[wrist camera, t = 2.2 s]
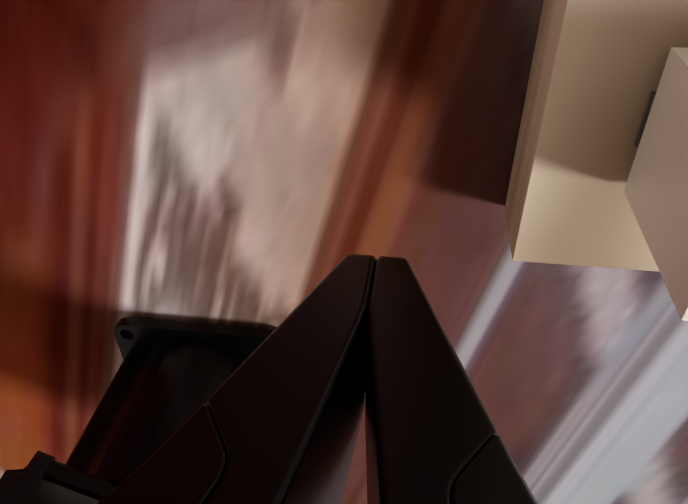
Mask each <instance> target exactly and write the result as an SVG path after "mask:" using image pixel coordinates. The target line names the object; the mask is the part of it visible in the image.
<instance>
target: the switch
mask: <svg viewBox="0 0 688 504" xmlns="http://www.w3.org/2000/svg"><path fill="white" fill-rule="evenodd" d="M624 193H625V195H626V198H627V200H628V202H629V204H630V207H631V209H632V211H633V213H634V215H635V218H636V220H637V222H638V224H639V227H640V229H641V231H642V233H643V235H644V238H645V240H646V242H647V244H648V247H649V249H650V251H651V253H652V256H653V258H654V260H655V262H656V264H657V267H658V269H659V271H660V273H661V276H662V278H663V280H664V282H665V284H666V287H667V289H668V291H669V293H670V296H671V298H672V300H673V302H674V305H675V307H676V309H677V311H678V313H679V316H680V318H681V320H685V321H688V48H683V47H671V49H670V52H669V55H668V58H667V61H666V64H665V67H664V70H663V73H662V76H661V79H660V83H659V86H658V89H657V92H656V95H655V98H654V101H653V104H652V107H651V110H650V113H649V116H648V119H647V122H646V125H645V128H644V131H643V134H642V137H641V140H640V143H639V146H638V149H637V153H636V156H635V159H634V162H633V165H632V168H631V171H630V174H629V177H628V180H627V183H626V186H625V189H624Z"/></svg>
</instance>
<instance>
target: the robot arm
mask: <svg viewBox="0 0 688 504" xmlns="http://www.w3.org/2000/svg"><path fill="white" fill-rule="evenodd" d="M114 334H115V337H116V340H117V343H118V346H119V349H120V351H121V354H122V357H123V360H124V361H123V363H122V364H121V366H120V368H119V370H118V371H117V373H116V375H115V377H114V378H113V380H112V382H111V384H110V386H109V387H108V389H107V391H106V393H105V394H104V396H103V398H102V400H101V401H100V403H99V405H98V407H97V408H96V410H95V412H94V414H93V416H92V417H91V419H90V421H89V423H88V424H87V426H86V428H85V430H84V431H83V433H82V435H81V437H80V439H79V440H78V442H77V444H76V446H75V447H74V449H73V451H72V453H71V454H70V456H69V458H68V460H67V461H66V463H65V464H63V463H60V462H57V461H55V457H54V456H51V455H48V454H46V453H43V452H41V451H37V452H36V454H35V455H34V457H33V458H32V460H31V461H30V463H29V464H28V465H27V467H25V468H24V469H17V470H6V471H5V473H4V474H3V476H2V477H1V479H0V504H341V503H342V498H343V494H344V490H345V486H346V482H347V477H348V473H349V469H350V465H351V461H352V456H353V452H354V448H355V444H356V440H357V435H358V431H359V427H360V423H361V418H362V413H363V409H364V403H365V395H366V404H365V427H366V464H367V501H368V504H538V503H537V501H536V500H535V498H534V496H533V494H532V493H531V491H530V489H529V488H528V486H527V484H526V482H525V481H524V479H523V477H522V475H521V474H520V472H519V470H518V468H517V467H516V465H515V463H514V461H513V459H512V457H511V456H510V454H509V452H508V450H507V448H506V446H505V444H504V442H503V440H502V439H501V437H500V436H499V435H497V430H496V428H495V426H494V424H493V422H492V420H491V418H490V417H489V415H488V413H487V411H486V409H485V407H484V405H483V403H482V401H481V400H480V398H479V396H478V394H477V392H476V390H475V388H474V386H473V384H472V383H471V381H470V379H469V377H468V375H467V373H466V371H465V369H464V367H463V365H462V364H461V362H460V360H459V358H458V356H457V354H456V352H455V350H454V348H453V347H452V345H451V343H450V341H449V339H448V337H447V335H446V333H445V331H444V330H443V328H442V326H441V324H440V322H439V320H438V318H437V316H436V314H435V313H434V311H433V309H432V307H431V305H430V303H429V301H428V299H427V297H426V296H425V294H424V292H423V290H422V288H421V286H420V284H419V282H418V280H417V279H416V277H415V275H414V273H413V271H412V269H411V267H410V265H409V263H408V262H407V260H406V259H404V258H398V257H384V256H381V257H379V258H378V259H377V260H376V259H375V257H374V256H371V255H357V254H349V255H347V256H345V257H344V258H343V259H342V260H341V261H340V262H339V263H338V264H337V266H336V267H335V268H334V269H333V270H332V271H331V272H330V273H329V274H328V275H327V276H326V277H325V278H324V279H323V280H322V281H321V282H320V283H319V284H318V285H317V286H316V287H315V288H314V289H313V291H312V292H311V293H310V294H309V295H308V296H307V297H306V298H305V299H304V300H303V301H302V302H301V303H300V304H299V305H298V306H297V307H296V308H295V309H294V310H293V311H292V312H291V313H290V314H289V315H288V317H287V318H286V319H285V320H284V321H283V322H282V323H281V324H280V325H279V326H278V327H277V328H276V329H275V330H274V331H272V330H261V329H250V328H239V327H228V326H217V325H206V324H195V323H184V322H173V321H162V320H151V319H140V318H129V317H128V318H122V319H120V321H119V322H118V324H117V326H116V327H115V329H114Z"/></svg>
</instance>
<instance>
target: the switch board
mask: <svg viewBox="0 0 688 504" xmlns="http://www.w3.org/2000/svg"><path fill="white" fill-rule="evenodd" d="M671 47H683V48H688V0H544V1H543V6H542V12H541V17H540V22H539V28H538V33H537V38H536V44H535V49H534V54H533V60H532V65H531V70H530V76H529V81H528V86H527V92H526V97H525V102H524V108H523V113H522V118H521V124H520V129H519V134H518V140H517V145H516V150H515V156H514V161H513V166H512V172H511V177H510V182H509V188H508V193H507V198H506V204H505V211H506V218H507V225H508V232H509V238H510V245H511V252H512V259H513V261H525V262H539V263H552V264H566V265H579V266H593V267H606V268H620V269H633V270H647V271H659V269H658V267H657V264H656V262H655V260H654V258H653V256H652V253H651V251H650V249H649V247H648V244H647V242H646V240H645V238H644V235H643V233H642V231H641V229H640V227H639V224H638V222H637V220H636V218H635V215H634V213H633V211H632V209H631V207H630V204H629V202H628V200H627V198H626V195H625V193H624V189H625V186H626V183H627V180H628V177H629V174H630V171H631V168H632V165H633V162H634V159H635V156H636V153H637V149H638V146H639V143H640V140H641V137H642V134H643V131H644V128H645V125H646V122H647V119H648V116H649V113H650V110H651V107H652V104H653V101H654V98H655V95H656V92H657V89H658V86H659V83H660V79H661V76H662V73H663V70H664V67H665V64H666V61H667V58H668V55H669V52H670V49H671Z"/></svg>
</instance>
